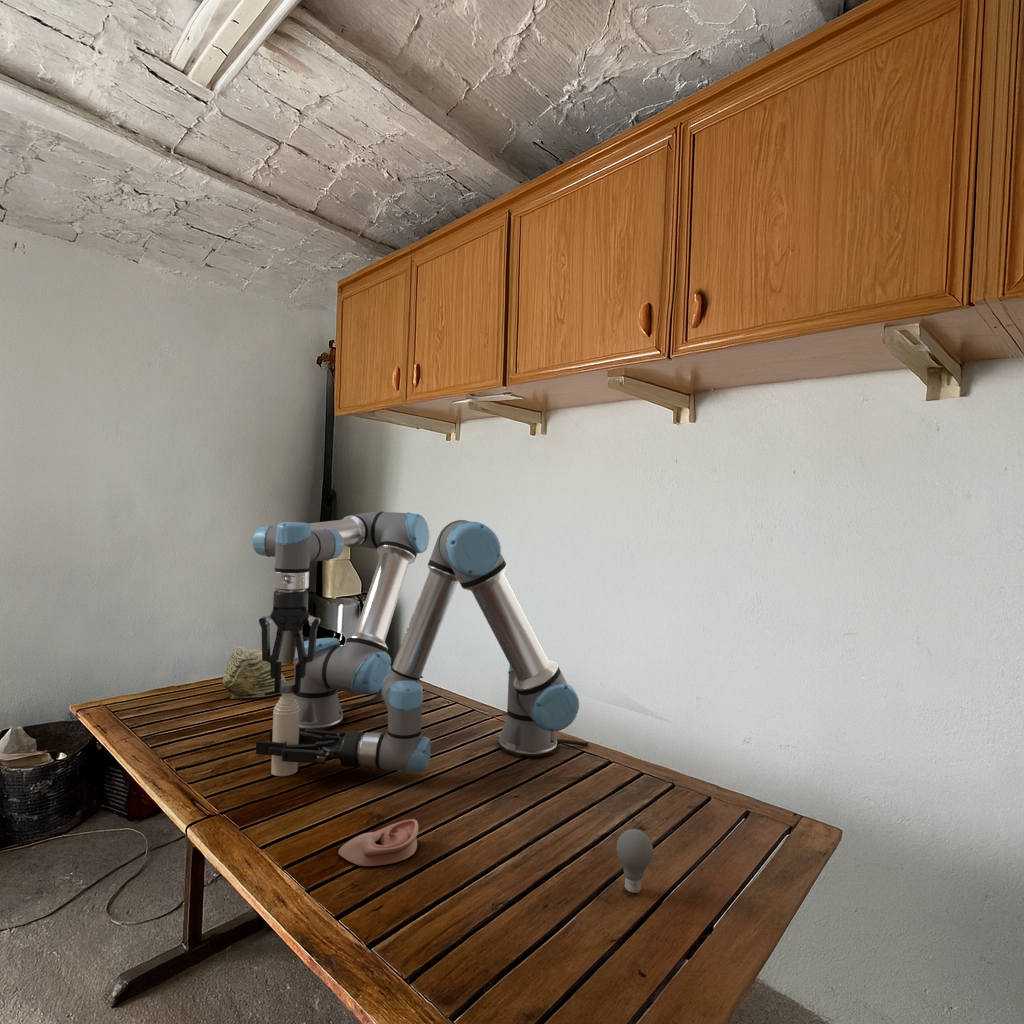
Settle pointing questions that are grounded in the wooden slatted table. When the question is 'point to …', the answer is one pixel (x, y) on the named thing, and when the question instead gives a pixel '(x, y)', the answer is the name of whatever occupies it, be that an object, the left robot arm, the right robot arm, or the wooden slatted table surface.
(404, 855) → the anatomical model
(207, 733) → the wooden slatted table surface
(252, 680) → the fossil
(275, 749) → the right robot arm
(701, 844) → the wooden slatted table surface
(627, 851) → the light bulb
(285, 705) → the bottle
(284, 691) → the cap
